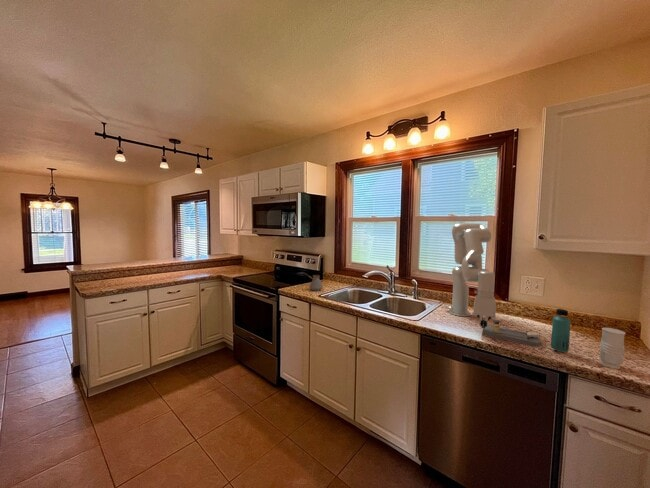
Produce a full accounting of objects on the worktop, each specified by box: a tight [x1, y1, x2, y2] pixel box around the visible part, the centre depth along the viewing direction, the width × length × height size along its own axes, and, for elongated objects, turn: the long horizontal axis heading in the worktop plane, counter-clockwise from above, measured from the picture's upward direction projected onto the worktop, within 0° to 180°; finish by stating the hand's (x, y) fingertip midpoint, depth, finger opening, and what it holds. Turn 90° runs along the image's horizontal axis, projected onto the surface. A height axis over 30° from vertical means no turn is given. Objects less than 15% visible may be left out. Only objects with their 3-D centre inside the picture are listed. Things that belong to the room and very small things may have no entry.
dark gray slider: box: [493, 319, 500, 326], centre depth 146 cm, size 3×3×4 cm
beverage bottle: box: [550, 308, 572, 353], centre depth 123 cm, size 6×7×20 cm
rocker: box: [527, 331, 539, 338], centre depth 134 cm, size 4×4×1 cm
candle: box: [598, 327, 627, 370], centre depth 111 cm, size 7×7×15 cm
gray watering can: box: [300, 271, 323, 292], centre depth 235 cm, size 21×12×15 cm, turn 62°
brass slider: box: [492, 323, 500, 333], centre depth 140 cm, size 3×3×4 cm
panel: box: [481, 324, 541, 348], centre depth 139 cm, size 24×13×3 cm, turn 56°
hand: (483, 327), depth 143 cm, fingers closed
